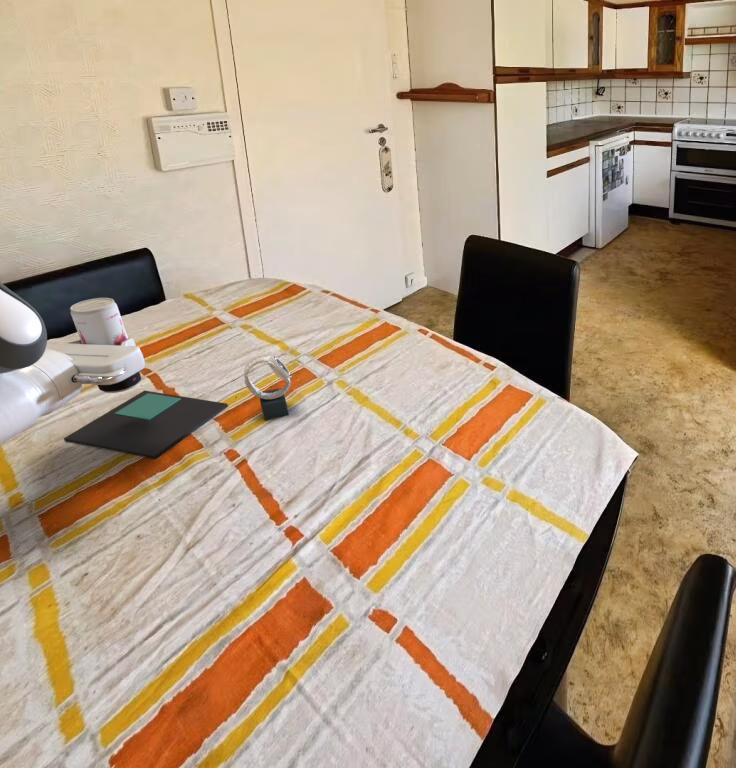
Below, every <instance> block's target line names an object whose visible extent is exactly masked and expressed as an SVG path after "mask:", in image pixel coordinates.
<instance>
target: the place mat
mask: <svg viewBox="0 0 736 768" xmlns="http://www.w3.org/2000/svg"><path fill="white" fill-rule="evenodd" d="M148 393H150V394H157V395H163V396H169V397H175V398H181V400H179V401H178V402H176V403H175V404H173V405H171V406H170V407H168V408H167V409H165V410H164V411H162V412H161V413H159V414H158V415H156V416H154V417H153V418H151V419H150V420H145V419H140V418H134V417H128V416H122V415H117V414H115V413H116V412H118V411H119V410H121V409H123V408H124V407H126V406H128V405H129V404H131V403H133V402H134V401H136V400H138V399H139V398H141V397H143V396H144V395H146V394H148ZM227 407H229V404H228V403H227V402H226V403H225V402H219V401H212V400H207V399H201V398H195V397H188V396H182V395H176V394H170V393H162V392H157V391H150V390H143V391H141V392H140V393H138V394H136V395H134V396H133V397H131V398H129V399H127V400H126V401H124V402H122V403H121V404H119V405H117V406H116V407H114V408H113V409H111V410H109V411H107V412H105V413H104V414H102V415H101V416H98V417H97V418H95V419H94V420H92V421H91V422H89V423H87V424H85V425H84V426H82V427H80V428H78V429H77V430H75V431H74V432H72V433H70V434H68V435H66V436H65V437H64V438H63V441H64V442H67V443H72V444H78V445H82V446H87V447H88V446H89V447H92V448H98V449H103V450H109V451H113V452H119V453H124V454H129V455H133V456H139V457H145V458H150V459H154V460H155V459H157V458H158V457H160V456H162V454H164V453H165V452H167V451H168V450H169V449H171V448H173V446H175V445H176V444H178V443H179V442H181V441H182V440H184V439H185V438H186V437H188V436H189V435H191V433H193V432H194V431H196V430H197V429H198V428H200V427H201V426H202V425H204V424H205V423H207V422H208V421H210V420H211V419H212V418H214V417H215V416H217V415H218V414H219V413H221V412H222V411H223V410H225V409H226V408H227Z"/></svg>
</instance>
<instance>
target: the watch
mask: <svg viewBox="0 0 736 768" xmlns="http://www.w3.org/2000/svg"><path fill="white" fill-rule="evenodd" d="M262 363H263V364H264V363H266V365H268V366H269V367H270V369H271V371H273V373H274V374H275V375H276V376H277V377H278V378H280V379H281V380H283V381H285V383H284V384H283V386H282V387H279V388H274V389H268V390H264V391H261V389H260V388H258V387H257V386H256V385H255V384H253V382H252V381H251V379H250V378H249V376H248V375H249V373H250V371H251V369H253V368H254V367H255V366H256V365H260V364H262ZM243 377H244V385H245V386H246V388H247V389H248V390H249V392H251V394H253V395H254V397H256V398H258V399H259V402H260V407H261V412H262V416H263V420H264V421H269V420H273V419H277V418H283V417H287V416H290V413H289V410H288V403H287V400H286V399H287V398H286V395H285V394H286V393H287V392H288V390H289V388H290V386H291V378H292V373H291V371H290V370H289V369H288V367H287V365H285V364H284V362H282V361H281V360H280V359H279V358H278V357H277V356H276V355H273V356H270V355H260V356H257V357H255V358H253V359H252V360H251V359H250V361H249V362H248V363H247V364H246V366H245V368H244V372H243Z"/></svg>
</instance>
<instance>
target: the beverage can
mask: <svg viewBox="0 0 736 768" xmlns="http://www.w3.org/2000/svg"><path fill="white" fill-rule="evenodd" d="M69 309H70V315H71V316H70V317H71V318H72V321H73V323H74V326H75V329H76V331H77V334H78V338H80V340H81V342H82V344H94V345H117V346H118V345H119V341H121V340H123V339H124V338H129V337H128V334H127V331H126V328H125V325H124V322H123V319H122V316H121V313H120V310H119V306H118V304H117V303H116V302H115V299H113V298H111V297H110V298H109V297H95V298H90V299H85V300H82V301H79V302H77V303H74V304H72V305H71V306H70V308H69ZM119 346H120V345H119ZM141 381H142V375H141V372H140V371H139V372H137V373H135V374H133V375H132V376H130V377H128V378H126V379H124V380H122V381H120V382H118V383H115V384H111V385H97V387H98V390H100V391H101V392H104V393H108V394H117V393H122V392H125V391H129V390H131V389H134V388H135V387H137V386H138V385H139V384H140V382H141Z"/></svg>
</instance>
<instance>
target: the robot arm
mask: <svg viewBox="0 0 736 768" xmlns="http://www.w3.org/2000/svg"><path fill="white" fill-rule="evenodd" d="M47 331H48V330H47V328H46V325H45V322H44V319H43V317H42V316H41V314H40V313H39V312H38V311H37V310H36V309H35V308H34V307H33V306H32V305H31V304H30V303H29V302H27V300H25V299H24V298H22V296H21V297H20V295H18V294H16V293H15V292H14V291H12V290H11V289H9V287H7V285H4V284H3V283H2V282H1V281H0V445H3V444H5V443H6V442H8V441H10V440H12V439H14V438H15V437H16V436H18V435H20V434H21V433H24V432H25V431H26V430H28V429H29V428H31V427H32V426H33V425H34V424H35V422H36V421H38V419H39V418H42V417H44V416H45V417H46V416H47V415H50V414H52V413H53V412H55V411H56V410H58V409H60V408H61V407H63V406H64V405H66V404H67V403H69V402H70V401H72V400H73V399H74V398H76V397H78V395H80V393H81V391H82V388H83V385H92V386H93V385H94V386H98V385H111V384H115V383H118V382H120V381H122V380H124V379H126V378H128V377H130V376H132V375H133V374H135V373H137V372H140V371H142V370H143V369H144V368H145V366H146V362H145V361H146V360H145V358H144V354H143V352H142V349H141V348H140V347H139V346H137V345H136V342H135V339H134V338H131V337H130V338H129V337H128V338H124V339H123V340H121V341H119V345H120V346H119V345H118V346H117V345H94V344H82V342H81V340H80V337H78V338H76V339H73V340H69V341H65V342H48V333H47Z"/></svg>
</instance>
